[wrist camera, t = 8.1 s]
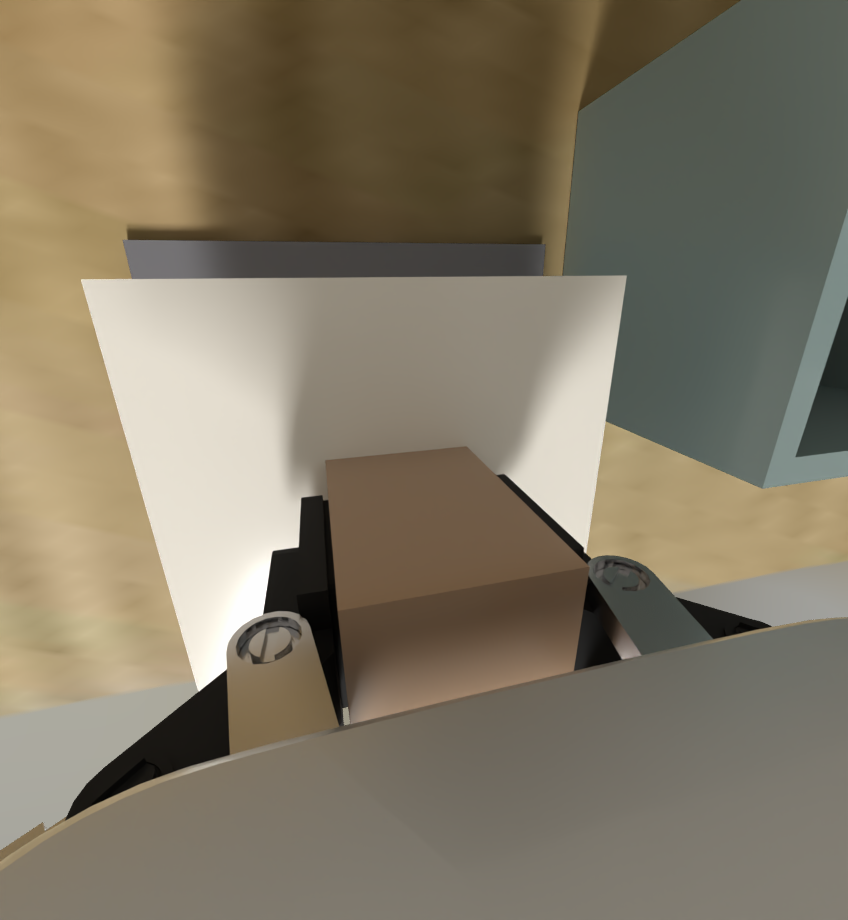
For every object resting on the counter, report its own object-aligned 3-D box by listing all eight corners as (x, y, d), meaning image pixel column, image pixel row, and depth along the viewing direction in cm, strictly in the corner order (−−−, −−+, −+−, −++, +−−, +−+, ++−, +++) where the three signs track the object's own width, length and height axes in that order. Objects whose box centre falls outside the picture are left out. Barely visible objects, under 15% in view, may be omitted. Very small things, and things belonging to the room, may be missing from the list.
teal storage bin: (804, 131, 20) (1317, -40, 10) (739, 383, 24) (1047, 447, 14) (578, 111, 17) (956, -148, 7) (551, 397, 21) (762, 488, 11)
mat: (540, 245, 18) (545, 244, 18) (516, 557, 24) (519, 561, 24) (127, 241, 15) (122, 239, 15) (215, 606, 21) (213, 611, 20)
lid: (580, 278, 14) (904, 258, 6) (544, 605, 18) (702, 816, 11) (123, 282, 11) (-292, 256, 3) (220, 667, 16) (137, 1009, 8)
